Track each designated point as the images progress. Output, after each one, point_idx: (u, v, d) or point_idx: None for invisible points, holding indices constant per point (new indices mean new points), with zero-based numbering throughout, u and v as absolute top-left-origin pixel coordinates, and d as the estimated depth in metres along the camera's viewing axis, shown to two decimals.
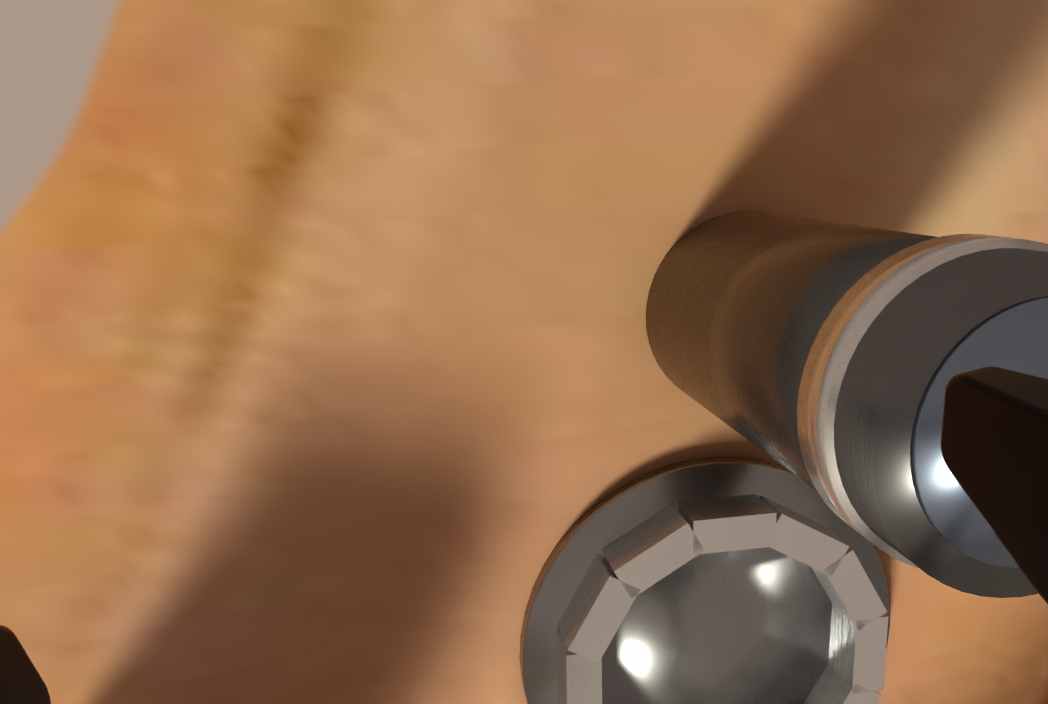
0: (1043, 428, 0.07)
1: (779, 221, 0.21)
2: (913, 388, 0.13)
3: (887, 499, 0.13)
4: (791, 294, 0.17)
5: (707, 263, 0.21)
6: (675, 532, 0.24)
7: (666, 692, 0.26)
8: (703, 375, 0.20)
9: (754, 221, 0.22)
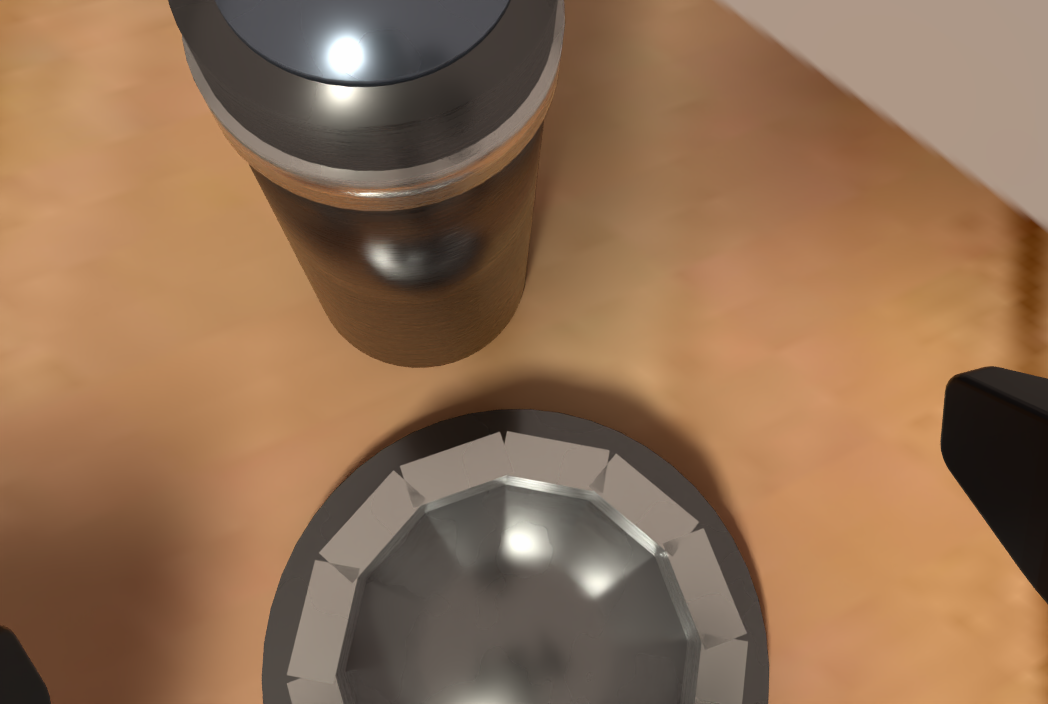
0: (1043, 428, 0.07)
1: None
2: None
3: (204, 49, 0.12)
4: None
5: None
6: (381, 484, 0.20)
7: None
8: (296, 255, 0.19)
9: None
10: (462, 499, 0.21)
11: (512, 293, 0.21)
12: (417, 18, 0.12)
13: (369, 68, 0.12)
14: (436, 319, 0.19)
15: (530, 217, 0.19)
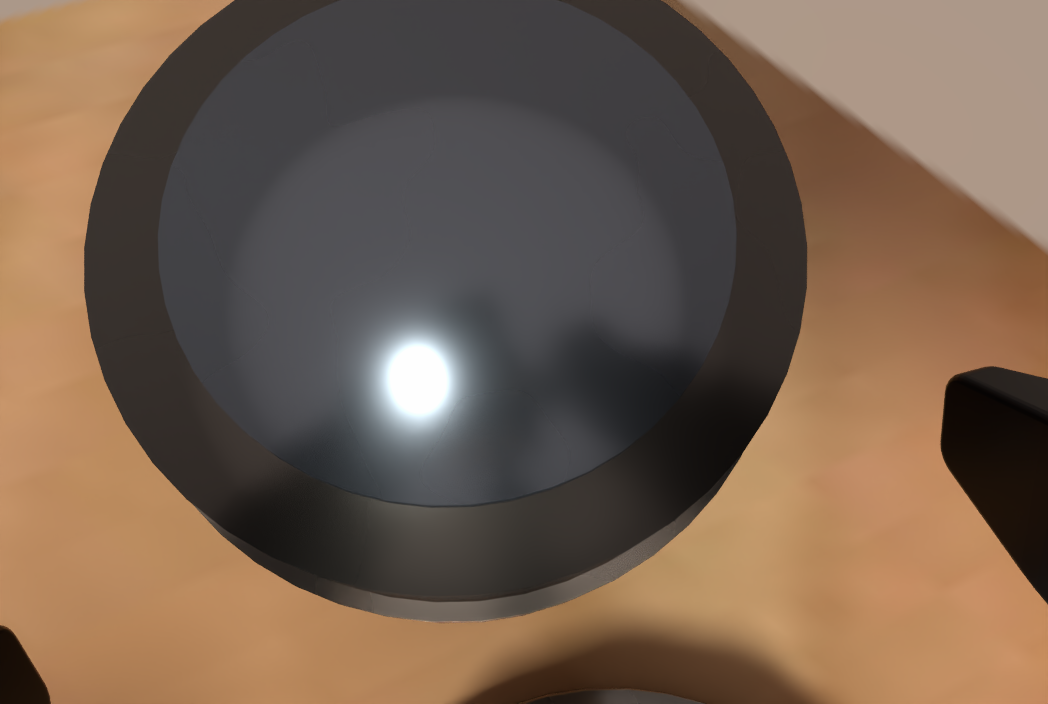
0: (1043, 428, 0.07)
1: None
2: (141, 208, 0.07)
3: (155, 431, 0.06)
4: None
5: None
6: None
7: None
8: None
9: None
10: None
11: None
12: (557, 365, 0.06)
13: (470, 475, 0.06)
14: None
15: None
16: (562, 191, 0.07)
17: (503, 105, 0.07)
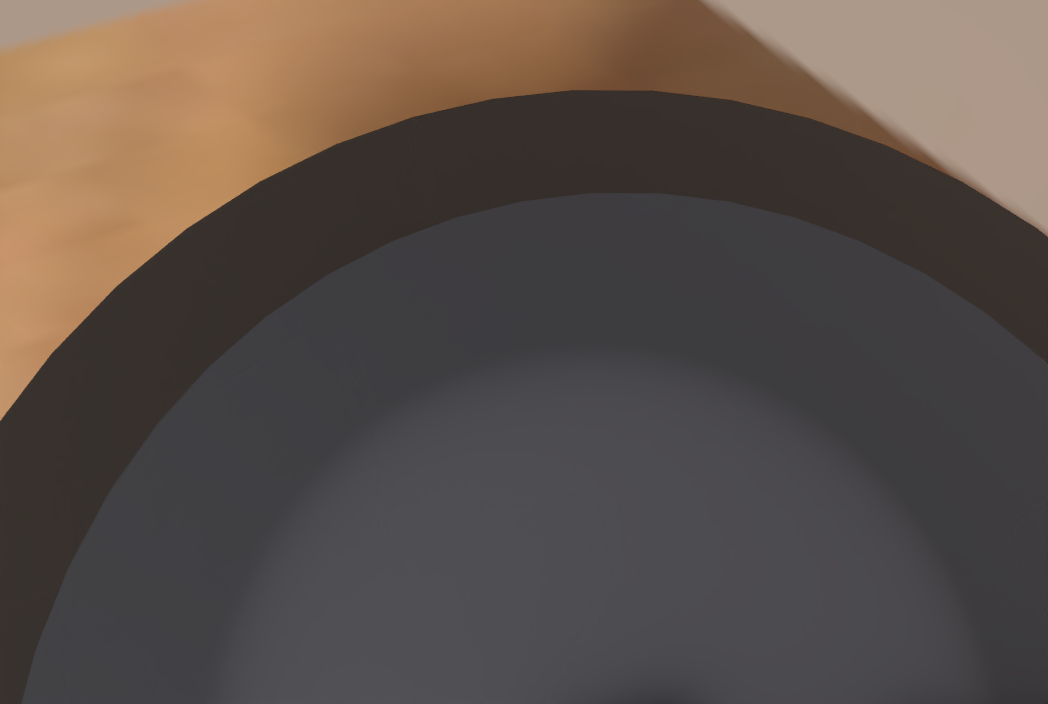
0: None
1: None
2: None
3: None
4: None
5: None
6: None
7: None
8: None
9: None
10: None
11: None
12: None
13: None
14: None
15: None
16: (881, 667, 0.03)
17: (751, 480, 0.03)
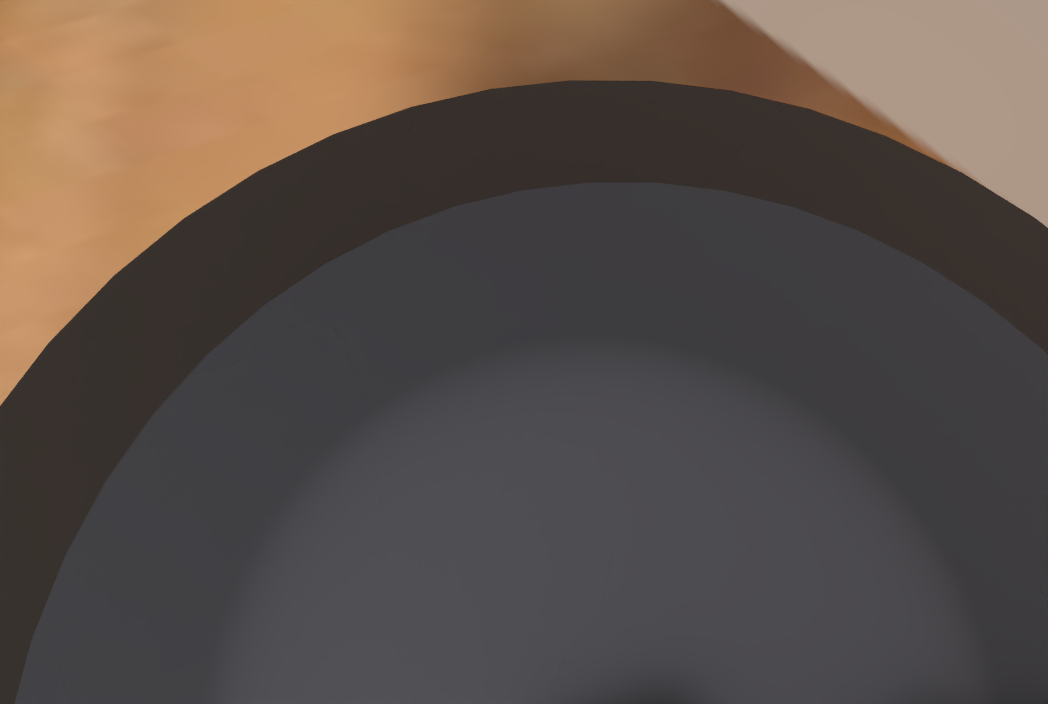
0: None
1: None
2: None
3: None
4: None
5: None
6: None
7: None
8: None
9: None
10: None
11: None
12: None
13: None
14: None
15: None
16: (879, 659, 0.03)
17: (749, 469, 0.03)
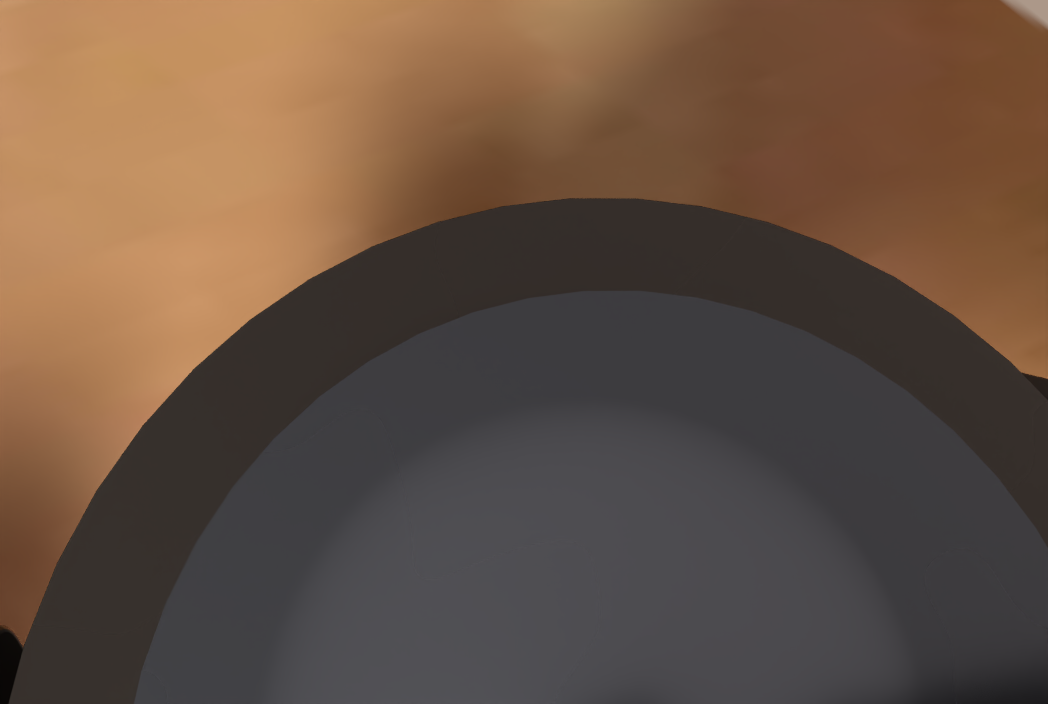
0: None
1: None
2: None
3: None
4: None
5: None
6: None
7: None
8: None
9: None
10: None
11: None
12: None
13: None
14: None
15: None
16: (818, 683, 0.04)
17: (713, 531, 0.04)
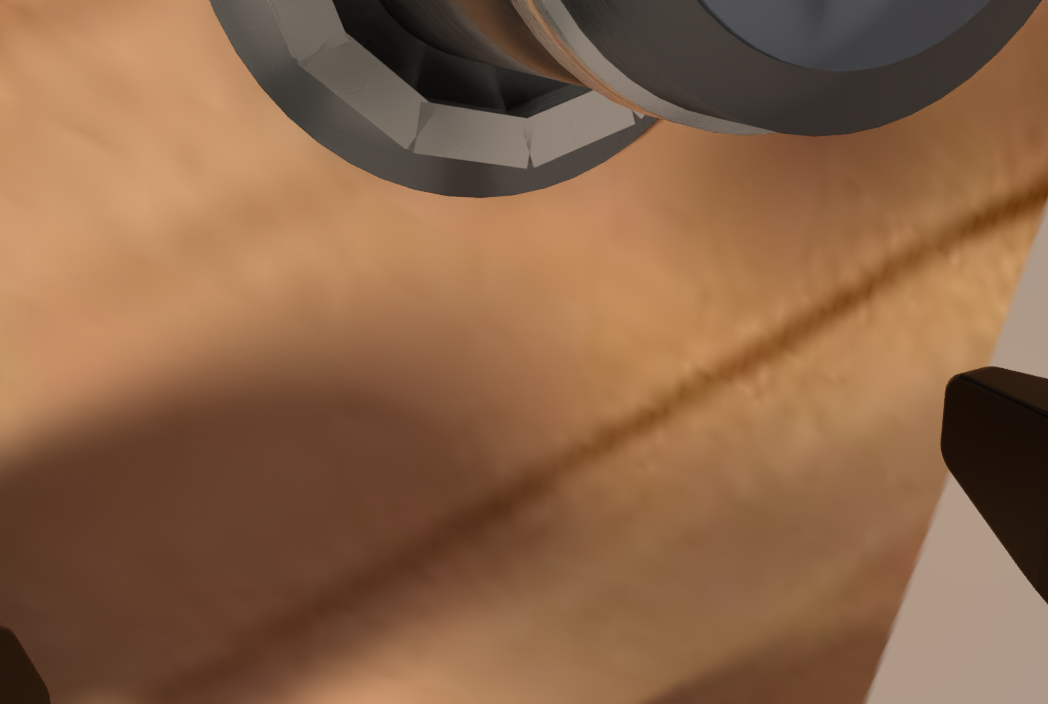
0: (1043, 428, 0.07)
1: None
2: None
3: None
4: None
5: None
6: None
7: None
8: None
9: None
10: None
11: None
12: None
13: None
14: (430, 21, 0.14)
15: None
16: None
17: None
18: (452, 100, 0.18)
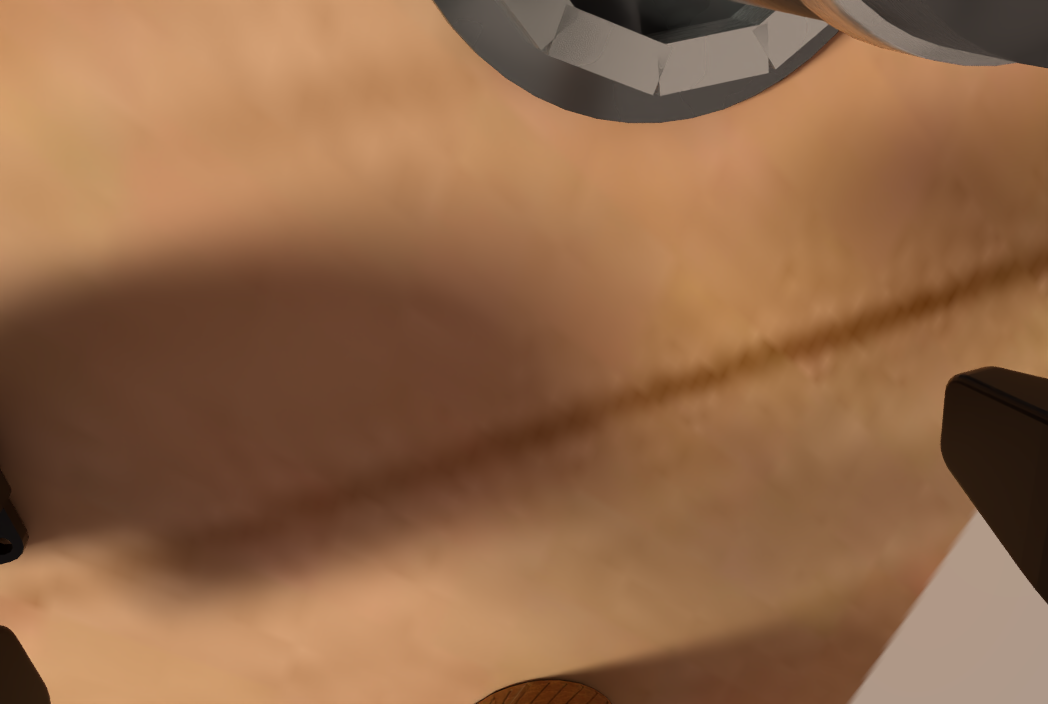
0: (1043, 428, 0.07)
1: None
2: None
3: None
4: None
5: None
6: None
7: None
8: None
9: None
10: None
11: None
12: None
13: None
14: None
15: None
16: None
17: None
18: (592, 13, 0.18)
